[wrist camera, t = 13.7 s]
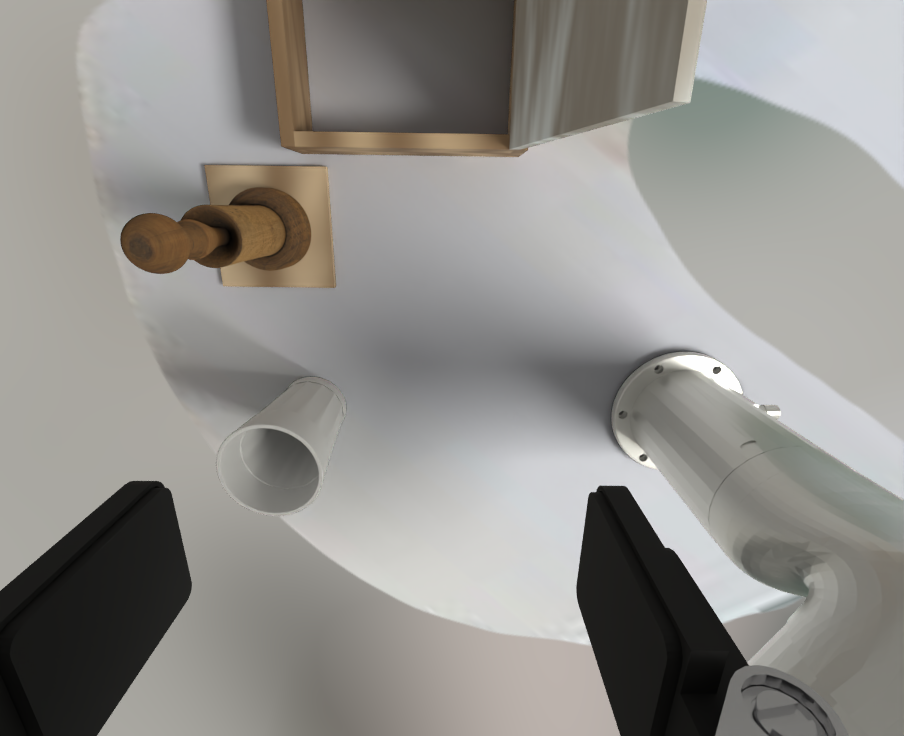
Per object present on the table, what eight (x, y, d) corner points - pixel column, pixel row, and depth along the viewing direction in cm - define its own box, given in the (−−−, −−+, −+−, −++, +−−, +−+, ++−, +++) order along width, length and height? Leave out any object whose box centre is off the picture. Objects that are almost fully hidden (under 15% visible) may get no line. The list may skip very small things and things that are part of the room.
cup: (260, 384, 45) (195, 444, 33) (334, 357, 44) (293, 410, 33) (296, 451, 47) (248, 528, 36) (367, 427, 46) (340, 498, 35)
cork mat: (327, 167, 38) (325, 166, 38) (336, 286, 42) (334, 287, 41) (207, 165, 38) (204, 165, 38) (226, 285, 41) (223, 286, 41)
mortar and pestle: (327, 238, 40) (234, 262, 23) (273, 282, 41) (147, 337, 24) (274, 171, 38) (129, 143, 21) (219, 220, 39) (41, 230, 22)
